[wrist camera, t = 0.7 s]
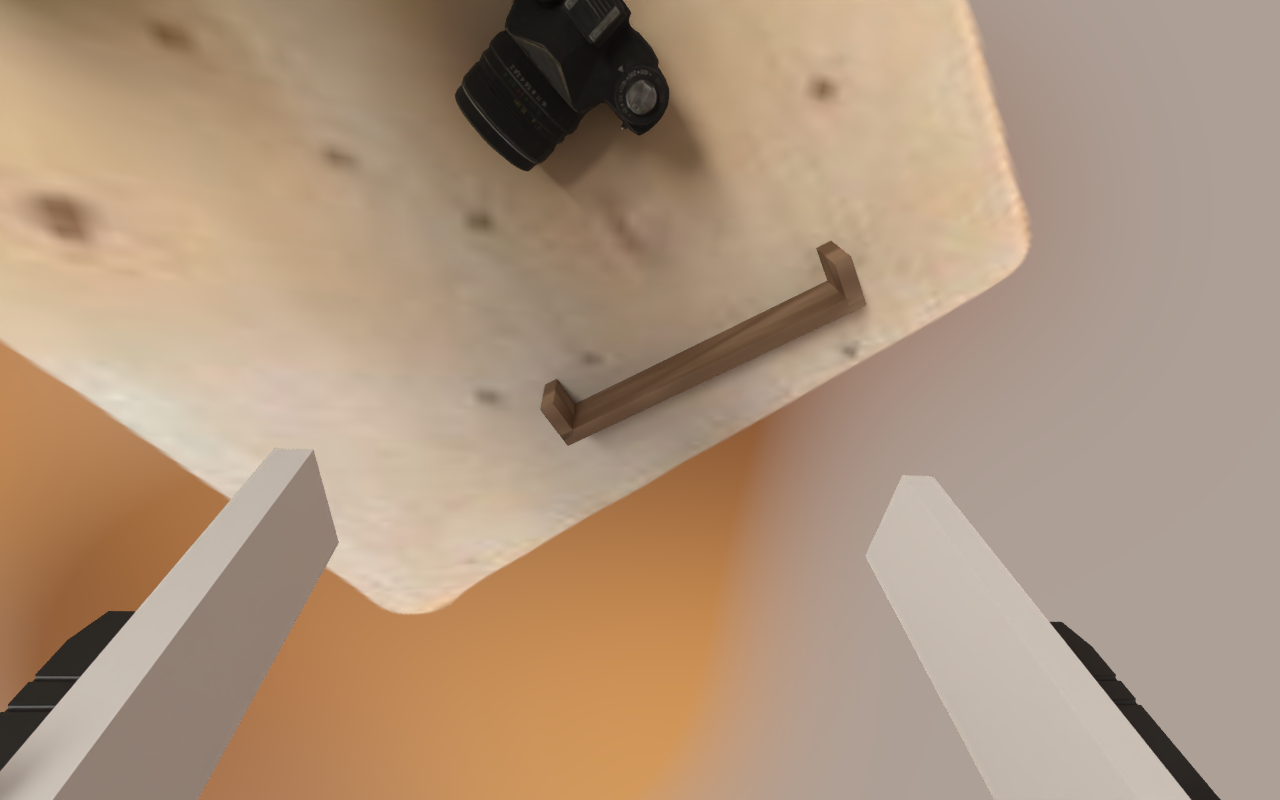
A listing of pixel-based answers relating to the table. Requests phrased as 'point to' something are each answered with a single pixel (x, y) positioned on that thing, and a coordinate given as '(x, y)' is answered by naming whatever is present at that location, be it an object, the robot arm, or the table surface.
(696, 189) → the table surface
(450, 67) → the table surface
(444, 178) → the table surface
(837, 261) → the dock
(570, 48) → the camera
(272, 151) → the table surface
